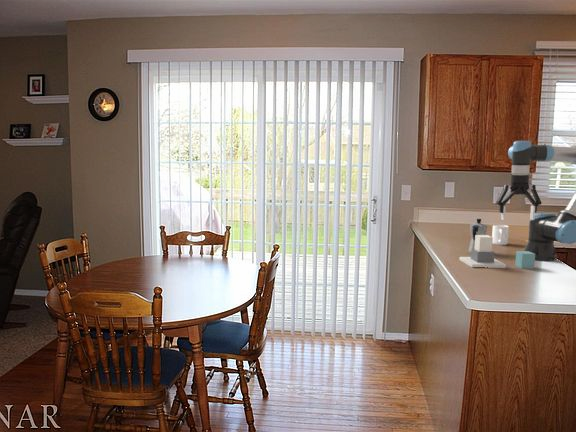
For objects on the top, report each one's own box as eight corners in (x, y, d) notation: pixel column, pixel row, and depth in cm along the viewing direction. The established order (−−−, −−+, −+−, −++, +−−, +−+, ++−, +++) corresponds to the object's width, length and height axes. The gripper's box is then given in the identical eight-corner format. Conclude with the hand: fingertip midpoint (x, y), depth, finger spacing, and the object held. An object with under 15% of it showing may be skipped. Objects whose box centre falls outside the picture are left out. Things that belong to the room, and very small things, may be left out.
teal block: (527, 265, 234) (528, 251, 233) (534, 268, 228) (535, 253, 227) (515, 265, 234) (516, 251, 233) (521, 268, 228) (522, 253, 227)
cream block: (486, 249, 238) (487, 235, 238) (491, 251, 233) (492, 237, 232) (474, 249, 238) (475, 234, 237) (479, 251, 232) (480, 237, 232)
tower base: (491, 260, 244) (492, 247, 243) (505, 267, 228) (506, 254, 228) (459, 259, 244) (460, 246, 243) (471, 267, 228) (472, 253, 227)
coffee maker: (471, 248, 272) (473, 216, 269) (488, 251, 267) (490, 218, 264) (463, 253, 260) (466, 219, 257) (481, 255, 255) (483, 221, 252)
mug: (492, 245, 282) (493, 227, 281) (491, 242, 293) (492, 224, 292) (508, 246, 279) (510, 228, 278) (506, 243, 291) (508, 225, 289)
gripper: (543, 173, 230) (540, 218, 233) (489, 174, 231) (487, 218, 234) (551, 174, 223) (548, 220, 226) (496, 175, 223) (493, 221, 226)
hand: (517, 219), depth 230 cm, fingers open, 13 cm apart
